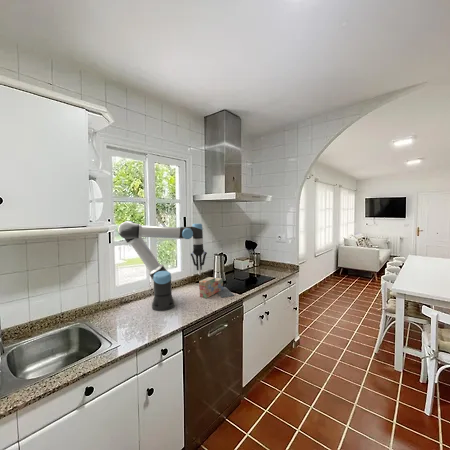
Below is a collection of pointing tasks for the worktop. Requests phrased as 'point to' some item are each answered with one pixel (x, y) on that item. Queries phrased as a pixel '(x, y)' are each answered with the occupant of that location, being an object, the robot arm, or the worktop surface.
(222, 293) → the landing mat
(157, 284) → the robot arm
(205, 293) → the stack of blocks
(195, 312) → the worktop surface
